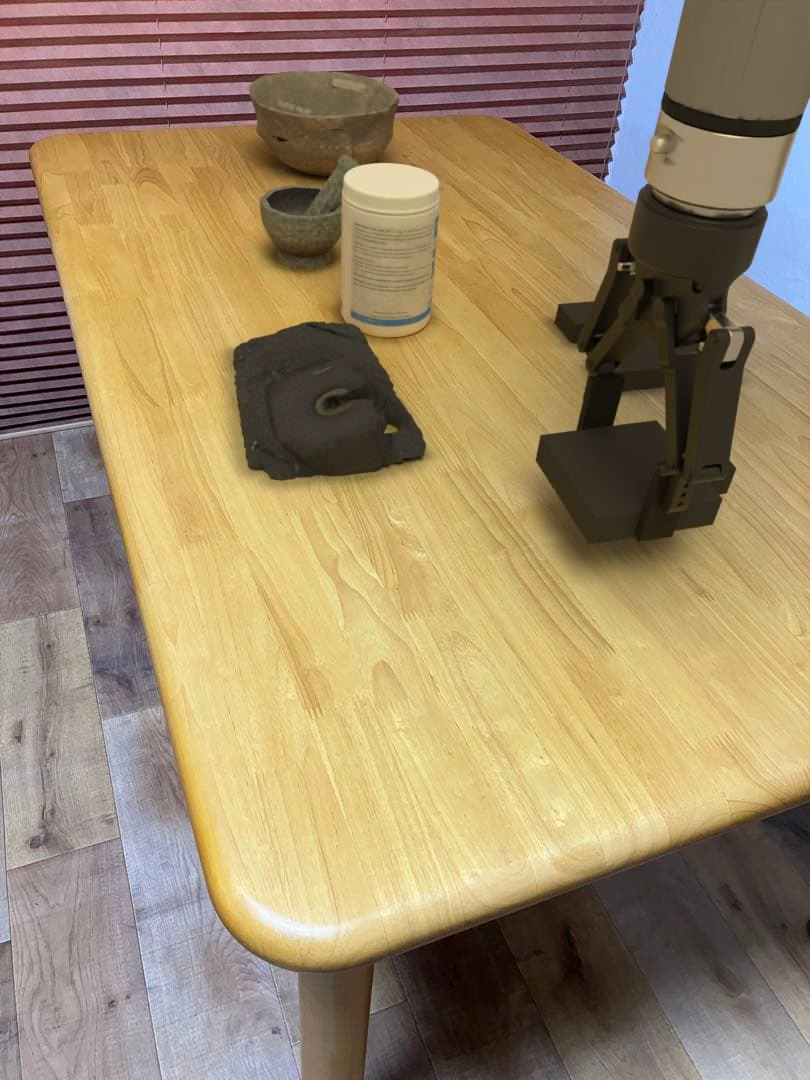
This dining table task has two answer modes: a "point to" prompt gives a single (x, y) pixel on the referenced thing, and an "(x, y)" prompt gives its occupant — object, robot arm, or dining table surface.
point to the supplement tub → (388, 248)
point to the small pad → (617, 478)
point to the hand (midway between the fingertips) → (619, 489)
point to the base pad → (641, 363)
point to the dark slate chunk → (319, 404)
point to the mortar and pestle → (306, 219)
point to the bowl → (323, 118)
